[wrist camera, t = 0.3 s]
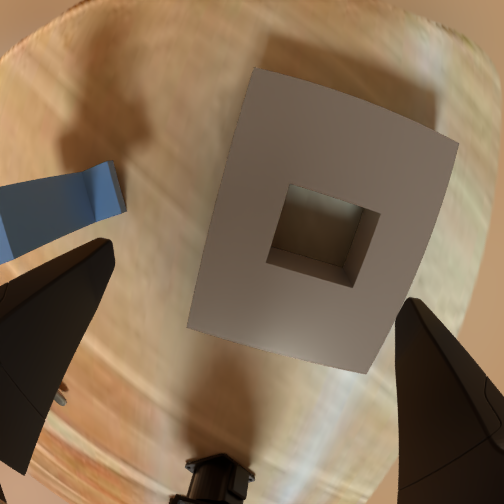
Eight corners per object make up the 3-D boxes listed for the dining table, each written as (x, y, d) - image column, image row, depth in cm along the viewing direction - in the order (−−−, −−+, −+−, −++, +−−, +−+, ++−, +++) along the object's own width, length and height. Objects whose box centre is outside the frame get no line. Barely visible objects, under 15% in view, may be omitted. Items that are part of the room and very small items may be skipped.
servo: (149, 202, 24) (29, 254, 11) (68, 229, 26) (-48, 285, 13) (137, 158, 23) (7, 173, 10) (57, 191, 25) (-65, 228, 12)
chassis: (357, 346, 26) (366, 374, 22) (199, 303, 26) (186, 327, 23) (434, 143, 21) (459, 143, 17) (258, 81, 21) (254, 67, 17)
